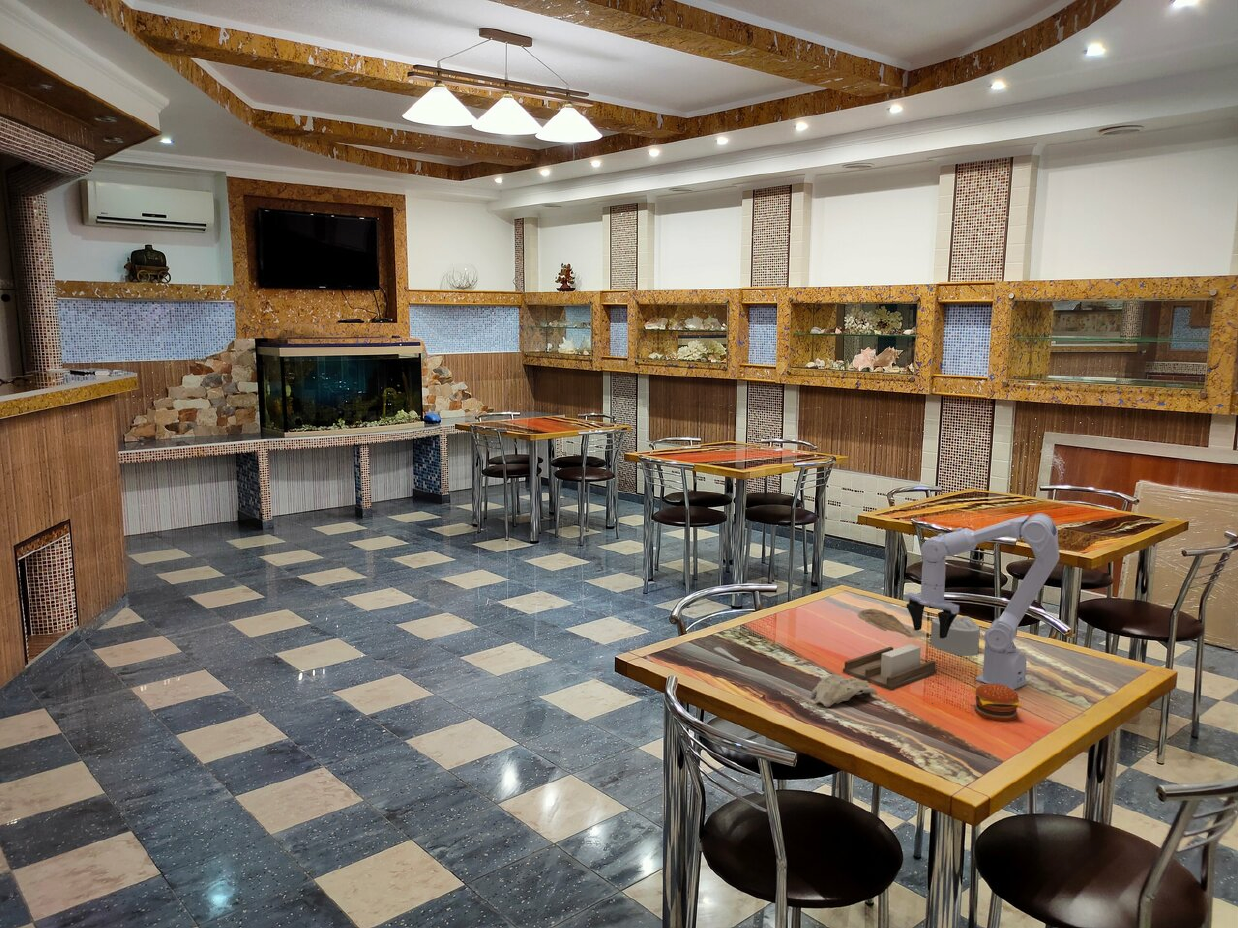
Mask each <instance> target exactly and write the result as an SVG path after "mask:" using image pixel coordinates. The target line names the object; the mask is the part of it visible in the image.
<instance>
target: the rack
mask: <svg viewBox="0 0 1238 928" xmlns="http://www.w3.org/2000/svg"><path fill="white" fill-rule="evenodd" d="M892 650H894V647H893V646H888V647H885V648H882V649H879V650H875V651H873V652H870V653H866V654H864V655H861V656H858V657H855V658H852V659H849V660H846V661H844V668H842V673H844V674H846V675H849V676H851V677H853V678H856V679H860V680H862V681H868V683H869V684H871V685H876V686H878V687H881V688H883V689H885V690H889V691H895V690H897V689H899V688H902V687H904V686H907V685H910V684H912V683H915V682H918V681H921V680H923V679H926V678H928V677H931V676H933V675H936V674H938V669H936V662H937V661H934V660H930V661H928V662H925V663H920V665H919V666H916V667H913V668H911V669H908V670H905V671H902V672H900V673H897V674H894V675H891V676H889V677H887V679H886V678H883V677H881V659H882V654H883V653H886V652H889V651H892Z"/></svg>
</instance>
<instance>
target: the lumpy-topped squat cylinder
mask: <svg viewBox="0 0 1238 928" xmlns="http://www.w3.org/2000/svg"><path fill="white" fill-rule="evenodd" d="M980 630H981V628H980V626H979V624H977V623H976V622H974V620H973V619H972V617H970V616H967V615H963V616H962V617H959V616H958V615H957V616H956V617H955V618H954V620H953V622H952V624H951V626H950V628H949V631H948V634H947V637H946V638H943V639H942V638H940V622H939V617H938V616H937V617H934V618H931V627H930V643H929V644H930V646H932V647H934V648H935V649H937V650H939V651H943V653H944V652H945V653H948V654H951V655H956V656H957V655H958V656H964V657H974V656H978V654H979V650H980V649H979V648H980V633H981V631H980Z"/></svg>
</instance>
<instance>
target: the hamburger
mask: <svg viewBox="0 0 1238 928" xmlns="http://www.w3.org/2000/svg"><path fill="white" fill-rule="evenodd" d="M972 691H973V693H974V694H975V705H974V711H975V713H976V714H977V715H978V716H981V717H983V718H985V719H988V720H992V721H996V722H997V721H998V722H1008V721H1009V722H1010V721H1013V720H1015V719H1017V717H1018V712H1017V708H1018V707H1019V708H1023V706H1022V704H1021V702H1020V700H1019V693H1018V692H1017V691H1016V690H1015V689H1014V690H1013V689H1011V688H1009V687H1007V686H1005V685H1001V684H993V683H988V684H987V683H983V684H982V685H979V686H977V687H976V688H973V689H972Z"/></svg>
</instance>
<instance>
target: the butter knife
mask: <svg viewBox="0 0 1238 928" xmlns="http://www.w3.org/2000/svg"><path fill="white" fill-rule="evenodd" d="M713 650H714V651H715V652H717V653H720V654H722V655H724V656H726V657H728V658H730V659H731V660H733V661H735V662H740V661H741V660H740V659H739V658H737V657H735V656H733V655H732V654H731V653H729V652H728V651H727V650H725V649H724V648H722V647H719V646H718V647H714V648H713Z"/></svg>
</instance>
